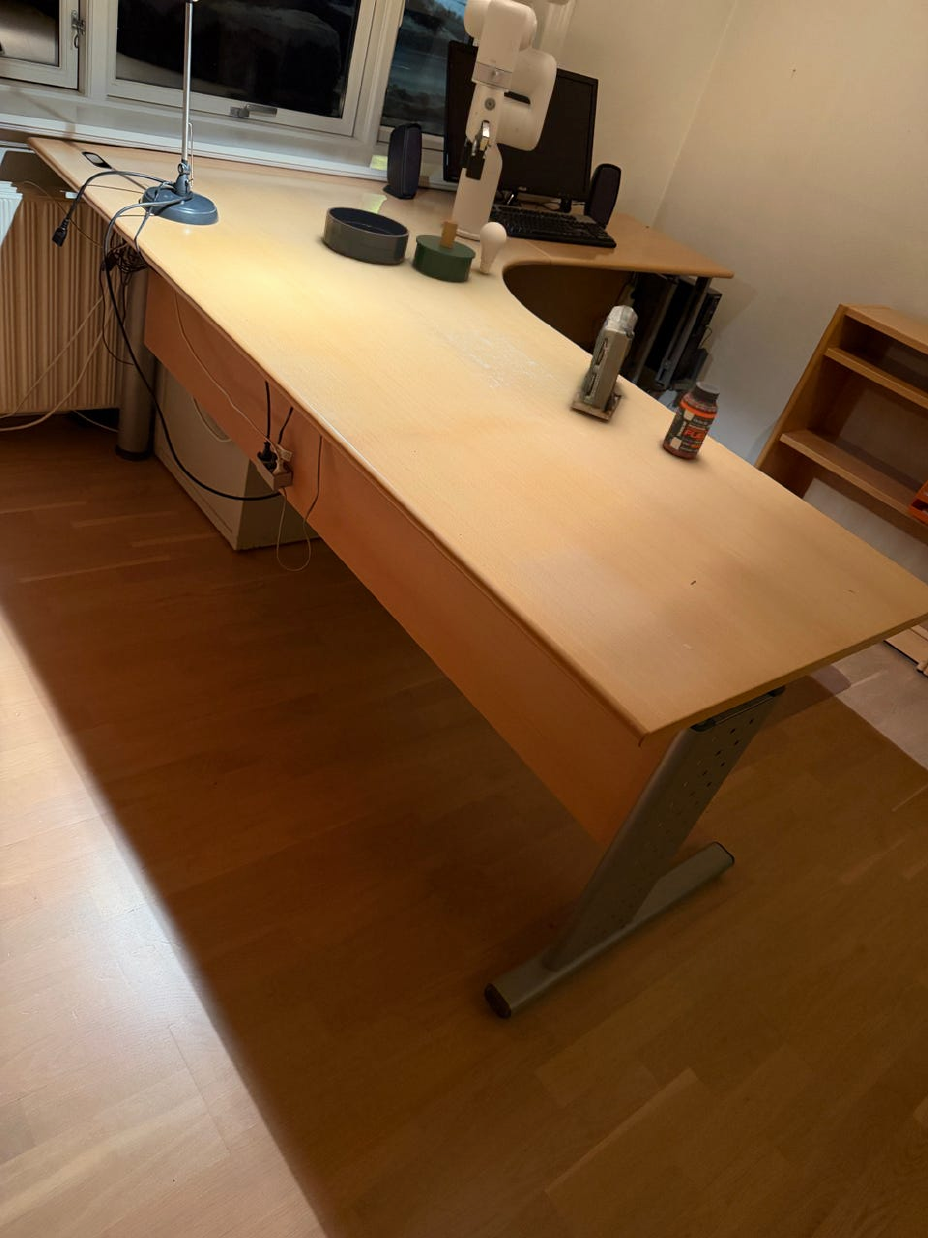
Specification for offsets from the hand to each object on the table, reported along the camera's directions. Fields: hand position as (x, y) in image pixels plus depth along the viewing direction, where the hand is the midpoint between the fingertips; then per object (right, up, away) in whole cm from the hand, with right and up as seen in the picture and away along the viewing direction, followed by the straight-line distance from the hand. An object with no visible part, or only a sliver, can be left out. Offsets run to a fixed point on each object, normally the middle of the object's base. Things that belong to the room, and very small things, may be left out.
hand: (469, 173), depth 171 cm
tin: (-6, -15, +12) cm, 20 cm away
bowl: (-23, -11, +10) cm, 28 cm away
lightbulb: (+3, -12, +21) cm, 24 cm away
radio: (+22, -52, -23) cm, 61 cm away
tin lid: (-5, -11, +9) cm, 15 cm away
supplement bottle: (+34, -64, -34) cm, 80 cm away
